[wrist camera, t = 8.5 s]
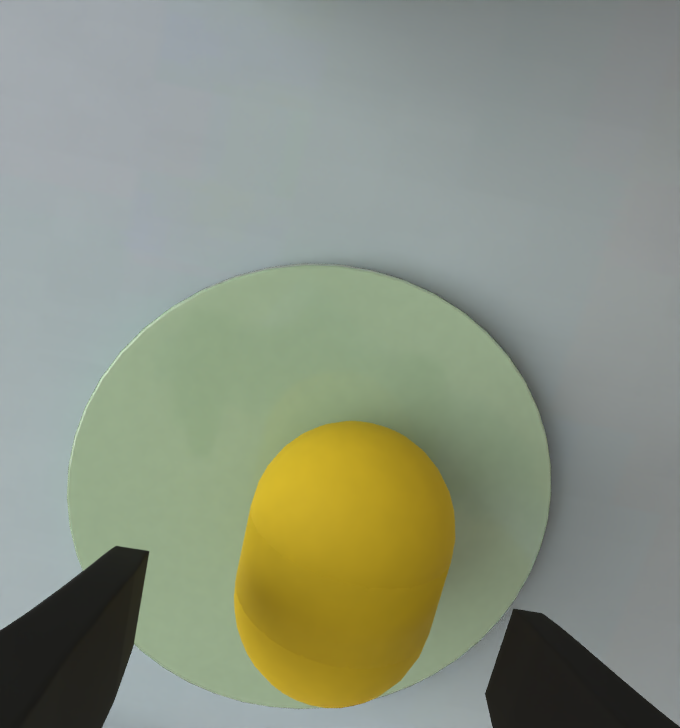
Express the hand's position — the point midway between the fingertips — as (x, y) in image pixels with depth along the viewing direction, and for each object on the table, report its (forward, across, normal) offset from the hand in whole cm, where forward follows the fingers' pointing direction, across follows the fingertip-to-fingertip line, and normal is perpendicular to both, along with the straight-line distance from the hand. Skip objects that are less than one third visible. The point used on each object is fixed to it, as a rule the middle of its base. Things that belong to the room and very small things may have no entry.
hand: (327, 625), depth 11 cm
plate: (+5, 0, 0) cm, 5 cm away
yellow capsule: (+4, 0, 0) cm, 4 cm away
